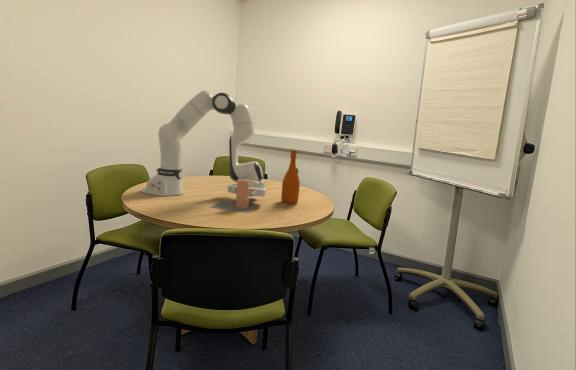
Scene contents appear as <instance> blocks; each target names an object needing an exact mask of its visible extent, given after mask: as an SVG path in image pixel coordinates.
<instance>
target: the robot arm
mask: <svg viewBox="0 0 576 370" xmlns="http://www.w3.org/2000/svg"><path fill="white" fill-rule="evenodd" d="M213 110H214V111H216V112H217V113H218V114H220V115H228V116H229V117H230V118H231V121H232V127H233V131H232V135H230V136H229V143H228V144H229V145H228V146H229V147H228V148H229V168H228V169H229V172H228V173H229V178H230V179H231V180H232V181H233V182H235V183H230V184H229V185H227V192H228V193H232V194H236V193H237V180H238V179H241V180H250V191H249V198H251V197H263V198H264V197H266V194H267V184H266V183H265V181H264V176H265V175H264V168H263V166H262V165H261V163H259V162H258V161H256V160H255V161H248V162H242V163H239V147H240V146H241V145H242V144H243V143H245V142H247V141H248V140H250V139H251V138H252V137H253V135H254V132H255V127H254V121H253V118H252V113H251V111H250V108H249V106H248V105H247V104H245V103H236V102H235V100H234V99H233V97H232V96H231V95H230V94H228V93H225V92H218V93H217V94H214V95H213V94H212V93H211V92H210V91H208V90H201V91H200V92H199V93H197V94H196V95H194V96H192V98H190V99H189V101H188V102H186V103H185V104H184V106H182V108H180V110H179V111H177V113H176V115H174V117H173V118H172V119H171V120H170V121H169V122H168V123H164V124H162V125H161V126H160V128H159V129H158V142H159V144H158V145H159V149H160V167H159V168H156V169H155V172H157V173H156V174H155V175H154V176H153V177H151V178H149V179H148V180H147V182H146V185H145V188H142V189H141V193H144V194H149V195H154V196H158V197H167V196H170V197H171V196H172V197H173V196H180V195H183V194H184V193H185V191H184V188H183V183H182V180H183V168H182V161H183V159H182V157H183V156H182V155H183V154H182V146H181V145H182V144H181V141H182V140H183V139H184V138H185V137H186V135H188V134H189V133H190V131H192V129H193V128H194V127H195V126H196V125H197V124H198V123H199V122H200V121H201V120H202V119H203V118H204V117H206V114H208V113H209V112H211V111H213Z"/></svg>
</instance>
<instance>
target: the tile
mask: <svg viewBox="0 0 576 370" xmlns="http://www.w3.org/2000/svg"><path fill="white" fill-rule="evenodd" d="M236 184H237V193H235V194H236V197H235V203H236V207H240V208H248V206H249V205H250V204H249V201H250V197H249V191H250V180H241V179H238V180H237V182H236Z"/></svg>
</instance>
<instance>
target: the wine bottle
mask: <svg viewBox="0 0 576 370" xmlns="http://www.w3.org/2000/svg"><path fill="white" fill-rule="evenodd" d="M297 154H298V151H297V150H296V149H291V150H290V156H289V158H290V161H289V162H290V163H289V166H288V169H287V171H286V173H285V174H284V176H283V179H282V182H281V183H282V184H281V197H280V198H281V199H280V200H281V202H282V203H283V204H287V205H295V204H298V201H299V196H300V187H301V186H300V185H301V183H300V182H301V181H300V177H299V173H300V172H299V169H298V167H297V165H296V160H297Z"/></svg>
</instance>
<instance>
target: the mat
mask: <svg viewBox="0 0 576 370" xmlns="http://www.w3.org/2000/svg"><path fill="white" fill-rule="evenodd" d="M256 207H257V205H254V204H249V206H248V208H240V207H236V202H232V201H223V200H220V201H218V202H216V203H215V204H213V205H211V206H210V207H209V208H210V209H215V210H216V209H218V210H225V211H232V212H237V213H238V212H240V213H245V214H246V213H247V214H249V213H250V212H252V210H254V209H255V208H256Z"/></svg>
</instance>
